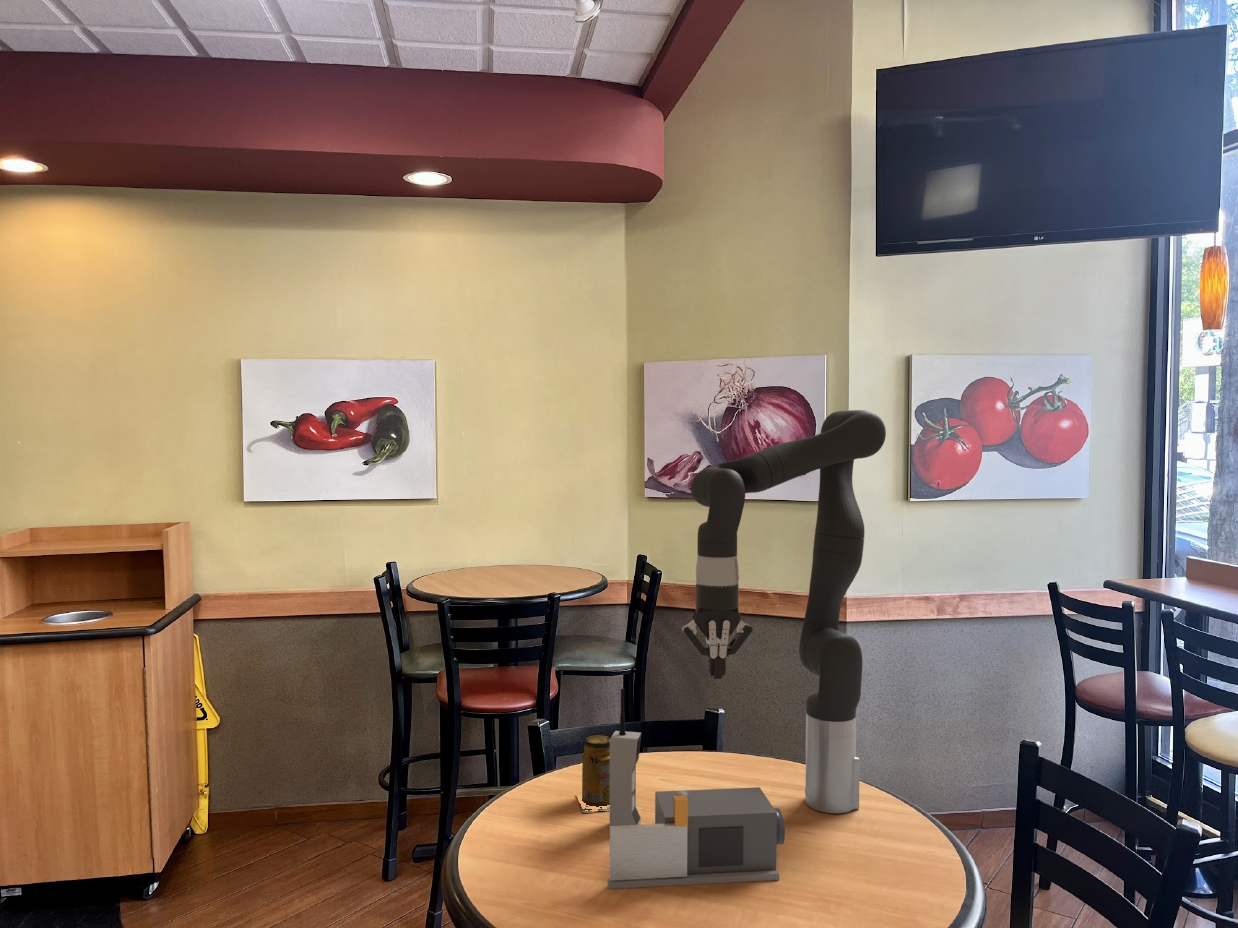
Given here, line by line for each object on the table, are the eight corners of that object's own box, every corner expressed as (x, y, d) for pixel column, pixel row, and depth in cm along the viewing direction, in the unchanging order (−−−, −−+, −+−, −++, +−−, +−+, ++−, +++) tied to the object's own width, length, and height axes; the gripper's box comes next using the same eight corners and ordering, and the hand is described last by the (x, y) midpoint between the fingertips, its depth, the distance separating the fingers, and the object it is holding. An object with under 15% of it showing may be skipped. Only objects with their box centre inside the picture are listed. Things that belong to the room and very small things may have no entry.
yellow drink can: (611, 792, 167) (612, 732, 166) (621, 810, 158) (621, 746, 158) (575, 795, 165) (575, 734, 165) (582, 814, 157) (583, 749, 157)
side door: (685, 872, 133) (685, 795, 133) (687, 877, 131) (687, 799, 131) (609, 876, 132) (609, 798, 131) (610, 881, 130) (610, 802, 130)
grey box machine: (770, 844, 145) (771, 782, 145) (791, 879, 133) (792, 811, 133) (601, 852, 142) (602, 788, 142) (608, 888, 130) (608, 819, 130)
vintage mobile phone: (637, 833, 149) (637, 692, 148) (609, 830, 150) (609, 690, 149) (640, 824, 153) (641, 686, 152) (613, 821, 154) (614, 684, 153)
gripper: (748, 577, 155) (747, 671, 155) (676, 578, 153) (676, 673, 153) (759, 583, 147) (758, 682, 147) (684, 584, 146) (683, 684, 146)
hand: (716, 677), depth 150 cm, fingers closed
